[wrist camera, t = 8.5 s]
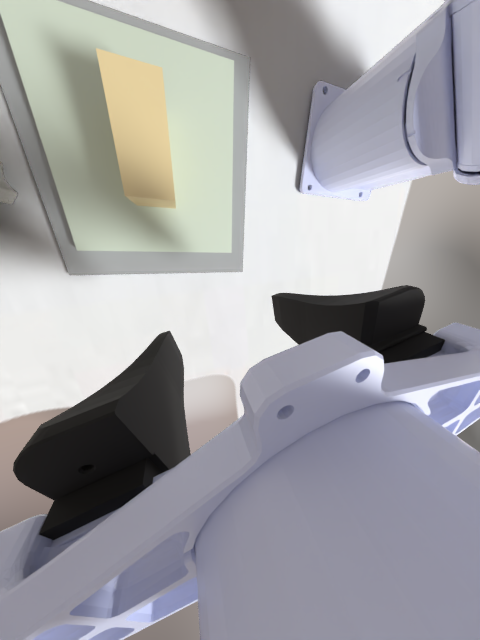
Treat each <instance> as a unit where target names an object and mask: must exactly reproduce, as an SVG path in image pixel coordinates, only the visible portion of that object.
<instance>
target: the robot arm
mask: <svg viewBox="0 0 480 640" xmlns="http://www.w3.org/2000/svg"><path fill="white" fill-rule="evenodd" d="M444 1H445V2H444V3H443V4H442V5H441V6H440V7H439V8H438V9H437V10H436V11H435V12H434V13H433V14H431V15H430V16H429V17H428V18H427V19H426V20H425V21H424V22H422V23H421V24H420V25H419V26H418V27H417V28H416V29H414V30H413V31H412V32H411V33H410V34H409V35H408V36H407V37H405V38H404V39H403V40H402V41H401V42H400V43H399V44H397V45H396V46H395V47H394V48H393V49H392V50H391V51H390V52H388V53H387V54H386V55H385V56H384V57H383V58H382V59H380V60H379V61H378V62H377V63H376V64H375V65H374V66H373V67H371V68H370V69H369V70H368V71H367V72H366V73H365V74H363V75H362V76H361V77H360V78H359V79H358V80H357V81H356V82H354V83H353V84H352V85H351V86H350V87H349V88H348V89H343V88H340V87H338V86H335V85H332V84H329V83H326V82H323V81H319V82H317V83H316V85H315V86H314V89H313V95H312V102H311V109H310V116H309V124H308V131H307V138H306V145H305V152H304V159H303V167H302V174H301V181H300V192H301V193H303V194H311V195H319V196H327V197H335V198H342V199H350V200H358V201H366V200H368V199H369V197H370V194H371V190H374V189H378V188H382V187H386V186H390V185H394V184H398V183H402V182H406V181H410V180H414V179H418V178H422V177H426V176H429V175H436V174H440V173H444V172H448V171H452V170H453V173H454V178H455V179H456V180H457V181H458V182H460V183H463V184H469V185H480V0H444ZM323 90H324V92H325V94H323ZM308 186H309V188H310V189H309V190H308ZM272 301H273V308H274V315H275V321H276V322H277V324H278V325H279V326H280V327H281V329H282V330H283V331H284V332H285V333H286V334H288V335H289V336H290V337H291V338H292V339H293V340H294V341H295V342H296V343H298V344H299V345H298V346H295V347H293V348H290V349H288V350H285V351H283V352H280V353H278V354H275V355H273V356H270V357H268V358H266V359H264V360H262V361H261V362H259V363H257V364H256V365H254V366H253V367H251V368H250V369H249V370H248V372H247V373H246V375H245V376H244V378H243V379H242V381H241V383H240V397H241V400H242V403H243V406H244V415H243V416H242V417H240V418H239V419H238V420H237V421H235V422H234V423H232V424H231V425H230V426H229V427H227V428H226V429H224V430H223V431H222V432H220V433H219V434H218V435H216V436H215V437H214V438H212V439H211V440H210V441H209V442H207V443H206V444H205V445H203V446H202V447H200V448H199V449H198V450H196V451H195V452H194V453H193V454H190V448H189V442H188V435H187V427H186V420H185V410H184V392H183V391H184V366H183V359H182V355H181V353H180V350H179V348H178V346H177V344H176V342H175V340H174V338H173V336H172V334H171V332H170V331H167V332H164V333H161V334H159V335H158V336H157V337H156V338H155V339H154V341H153V342H152V343H151V344H150V345H149V346H148V347H147V349H146V350H145V351H144V352H143V353H142V354H141V355H140V356H139V357H138V358H137V359H136V360H135V361H134V362H133V363H132V364H131V365H130V366H129V367H128V368H127V369H126V370H125V371H123V372H122V373H121V374H120V375H119V376H117V377H116V378H115V379H113V380H112V381H111V382H109V383H108V384H107V385H105V386H104V387H103V388H101V389H100V390H99V391H97V392H96V393H94V394H93V395H91V396H90V397H88V398H86V399H85V400H83V401H82V402H80V403H78V404H77V405H75V406H74V407H72V408H70V409H68V410H67V411H65V412H63V413H61V414H60V415H58V416H56V417H54V418H53V419H51V420H49V421H47V422H45V423H43V424H41V425H40V426H39V428H38V429H37V431H36V432H35V433H34V435H33V436H32V438H31V439H30V440H29V442H28V443H27V444H26V446H25V447H24V448H23V450H22V451H21V452H20V454H19V455H18V457H17V459H16V460H15V462H14V467H13V471H14V473H15V475H16V477H17V478H18V480H19V481H20V482H22V483H23V484H24V485H26V486H28V487H30V488H31V489H33V490H35V491H37V492H39V493H41V494H43V495H45V496H47V497H49V498H51V499H53V500H54V502H53V505H52V507H51V509H50V511H49V513H48V514H42V515H37V516H33V517H31V518H29V519H26V520H24V521H22V522H20V523H18V524H16V525H14V526H11V527H9V528H7V529H5V530H2V531H0V640H123V639H125V638H127V637H129V636H131V635H133V634H134V633H137V632H139V631H140V630H142V629H144V628H146V627H148V626H150V625H152V624H154V623H156V622H158V621H160V620H162V619H164V618H165V617H167V616H169V615H171V614H173V613H175V612H177V611H179V610H181V609H182V608H185V607H187V606H189V605H190V604H193V603H195V602H196V601H198V609H199V628H200V640H480V452H478V451H477V450H475V449H474V448H472V447H471V446H470V445H468V444H467V443H465V442H464V441H462V440H461V439H460V438H459V437H457V436H456V435H458V434H459V433H460V432H462V431H463V430H464V429H466V428H467V427H468V426H470V425H471V424H472V423H474V422H475V421H476V420H478V419H479V418H480V329H477V328H473V327H470V326H467V325H463V324H460V323H452V324H450V325H448V326H445V327H443V328H441V329H439V330H437V331H436V332H435V333H434V334H433V335H431V334H429V333H426V332H425V331H426V330H427V328H426V327H425V326H422V325H419V320H420V317H421V314H422V311H423V308H424V303H425V296H424V294H423V291H422V290H421V289H419V288H417V287H413V286H408V285H406V286H399V287H394V288H390V289H385V290H380V291H374V292H368V293H361V294H352V295H339V296H317V295H303V294H292V293H278V294H276V295H273V296H272Z"/></svg>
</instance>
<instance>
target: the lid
mask: <svg viewBox="0 0 480 640" xmlns="http://www.w3.org/2000/svg"><path fill="white" fill-rule="evenodd" d="M0 14H1V17H2V20H3V23H4V26H5V30H6V33H7V36H8V39H9V42H10V45H11V48H12V51H13V54H14V57H15V60H16V64H17V67H18V70H19V73H20V76H21V79H22V82H23V85H24V88H25V91H26V94H27V98H28V101H29V104H30V107H31V110H32V113H33V116H34V119H35V122H36V125H37V129H38V132H39V135H40V138H41V141H42V144H43V147H44V150H45V153H46V156H47V159H48V163H49V166H50V169H51V172H52V175H53V178H54V181H55V184H56V187H57V190H58V194H59V197H60V200H61V203H62V206H63V209H64V212H65V215H66V218H67V221H68V224H69V228H70V231H71V234H72V237H73V240H74V243H75V246H76V249H77V251H141V252H209V253H232V179H233V102H234V60H231V59H228V58H225V57H222V56H219V55H216V54H213V53H210V52H207V51H204V50H201V49H198V48H195V47H192V46H190V45H187V44H184V43H181V42H178V41H175V40H172V39H169V38H166V37H163V36H160V35H157V34H154V33H151V32H148V31H146V30H143V29H140V28H137V27H134V26H131V25H128V24H125V23H122V22H119V21H116V20H113V19H110V18H107V17H104V16H102V15H99V14H96V13H93V12H90V11H87V10H84V9H81V8H78V7H75V6H72V5H69V4H66V3H63V2H60V1H58V0H0Z"/></svg>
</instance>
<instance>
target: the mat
mask: <svg viewBox="0 0 480 640" xmlns="http://www.w3.org/2000/svg"><path fill="white" fill-rule="evenodd" d="M58 1H60V2H63V3H66V4H69V5H72V6H75V7H78V8H81V9H84V10H87V11H90V12H93V13H96V14H99V15H102V16H104V17H107V18H110V19H113V20H116V21H119V22H122V23H125V24H128V25H131V26H134V27H137V28H140V29H143V30H146V31H148V32H151V33H154V34H157V35H160V36H163V37H166V38H169V39H172V40H175V41H178V42H181V43H184V44H187V45H190V46H192V47H195V48H198V49H201V50H204V51H207V52H210V53H213V54H216V55H219V56H222V57H225V58H228V59H231V60H234V102H233V179H232V253H209V252H141V251H77V249H76V246H75V243H74V240H73V237H72V234H71V231H70V228H69V224H68V221H67V218H66V215H65V212H64V209H63V206H62V203H61V200H60V197H59V194H58V190H57V187H56V184H55V181H54V178H53V175H52V172H51V169H50V166H49V163H48V159H47V156H46V153H45V150H44V147H43V144H42V141H41V138H40V135H39V132H38V129H37V125H36V122H35V119H34V116H33V113H32V110H31V107H30V104H29V101H28V98H27V94H26V91H25V88H24V85H23V82H22V79H21V76H20V73H19V70H18V67H17V64H16V60H15V57H14V54H13V51H12V48H11V45H10V42H9V39H8V36H7V33H6V30H5V26H4V23H3V20H2V17H1V14H0V85H1V88H2V91H3V93H4V96H5V99H6V102H7V104H8V107H9V110H10V113H11V115H12V118H13V121H14V124H15V126H16V129H17V132H18V135H19V137H20V140H21V143H22V146H23V149H24V151H25V154H26V157H27V160H28V162H29V165H30V168H31V171H32V173H33V176H34V179H35V182H36V184H37V187H38V190H39V193H40V196H41V198H42V201H43V204H44V207H45V209H46V212H47V215H48V218H49V220H50V223H51V226H52V229H53V231H54V234H55V237H56V240H57V243H58V245H59V248H60V251H61V254H62V256H63V259H64V262H65V265H66V267H67V270H68V273H69V275H109V274H158V273H208V272H243V245H244V217H245V189H246V162H247V134H248V107H249V79H250V57H248V56H245V55H242V54H239V53H236V52H233V51H231V50H228V49H225V48H222V47H219V46H216V45H214V44H211V43H208V42H205V41H202V40H199V39H197V38H194V37H191V36H188V35H185V34H182V33H180V32H177V31H174V30H171V29H168V28H165V27H162V26H160V25H157V24H154V23H151V22H148V21H145V20H143V19H140V18H137V17H134V16H131V15H128V14H126V13H123V12H120V11H117V10H114V9H111V8H109V7H106V6H103V5H100V4H97V3H94V2H92V1H89V0H58Z"/></svg>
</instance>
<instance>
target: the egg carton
mask: <svg viewBox="0 0 480 640" xmlns="http://www.w3.org/2000/svg"><path fill="white" fill-rule="evenodd" d="M17 194H18V193H17V192H16V191H15V190H13V189H12V188H11V186H10V185H9V184H8V182H7V181H6V180H5V177H4V174H3V164H2V163H1V162H0V202H2V203H7V204H13V202H14V200H15V198H16V197H17Z"/></svg>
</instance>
